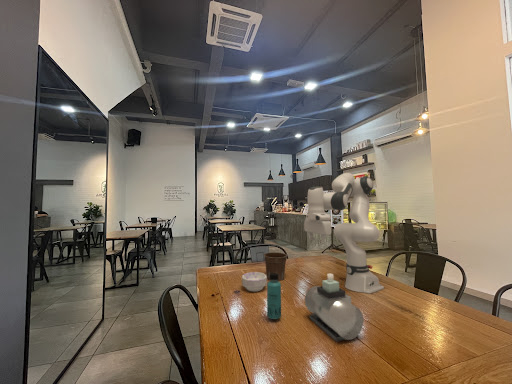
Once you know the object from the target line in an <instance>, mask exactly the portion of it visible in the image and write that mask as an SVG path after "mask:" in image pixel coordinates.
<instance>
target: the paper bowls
mask: <svg viewBox="0 0 512 384" xmlns="http://www.w3.org/2000/svg"><path fill="white" fill-rule="evenodd" d="M267 283H268V279H267V274H265V273H264V272H260V271H251V272H246V273H244V274H242V275H241V285H242V287H244V288H245V289H246V290H247V291H248V292H259V291H262V290H263V289H264V287H267Z"/></svg>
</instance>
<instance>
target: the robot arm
mask: <svg viewBox="0 0 512 384" xmlns="http://www.w3.org/2000/svg"><path fill="white" fill-rule="evenodd" d="M331 188H332V190H333V192H326V191H324V188H323V186H311V187H309V189H308V191H307V215H306V217H305V219H304V223H303V224H304V228H303V230H304V232H307V233H308V236H309V240H310V241H312V242H313V241H315V237H314V234H316V235H320V237H321V238H320V240H319V241H320V242H319V243H320V244H322V245H323V244H325V243H326V242H325V240H326V238H327V236H331V235H332V221H331V220H332V216H331V215H329V214H327V212H326V211H325V210H328V211H329V210H331V211H343V210H345V209H346V207H348V203H349V200H350V198H351V197H353V200H352V202H351V206H350V210H349V213H348V214H349V215H348V216H349V218H350V220H351V221H352V222H341V223H337V224H336V225H335V226H334V228H333V234H334V236H335V238H336V239H337V240H339V241H340V242H341V243H342V245H343V247H344V250H345V255H346V263H345V266H346V267H345V269H346V277H345V278H346V279H345V283H344V287H345V288H346V289H347V290H349V291H353V292H356V293H365V294H372V293H375V292H379V291H382V290H384V289H385V287H384V286H383V285H382V284H380V280H379V277H378V276H376V275H375V274H374V273H373V272H372V271H370V269H371V270H372V269H373V265H371V264H367V261H368V260H367V252H366V251H365V249H364V248H363V247H360V246H359V245H358V244H357V243H356V242H359V243H373V242H374V243H375V242H376V241H378V239H379V237H380V231H379V228H378V226H376V225H375V224H373V223H372V222H371V221H370V219H369V212H370V198H369V197H368V196H370V194H371V193H372V190H373V188H374V182H373V180H372V179H371V178H370V177H369V176H365V175H364V176H361V177H358V178H355V176H354V175H353V174H352V173H350V172H344V173H341V174H340V175H338V176H337V177H336V178H334V180H333V181H332V182H331Z"/></svg>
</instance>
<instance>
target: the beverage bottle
mask: <svg viewBox="0 0 512 384" xmlns="http://www.w3.org/2000/svg"><path fill="white" fill-rule="evenodd" d="M269 279H271V280H269ZM269 279H268V280H269V281H267V285H266V289H267V290H266V291H267V292H266V297H267V298H266V303H267V304H266V308H267V309H266V311H267V312H266V315H267V318H268V319H270V320H278V319H280V318H281V317H282V289H281V288H282V284H281V282H280V281H278V280H277V279H279V277H278V274H277V273H270V277H269Z"/></svg>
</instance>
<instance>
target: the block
mask: <svg viewBox="0 0 512 384" xmlns="http://www.w3.org/2000/svg"><path fill="white" fill-rule="evenodd" d="M326 274H327V279H324V280H323V279H322V281H321V282H322V285H321V286H322V288H323V289H324V290H325V291H327V292H329V293H330V292H336V291H339V288H340V282H339V281H337V280H334V274H333V273H331V272H330V273H328V272H327V273H326Z"/></svg>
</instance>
